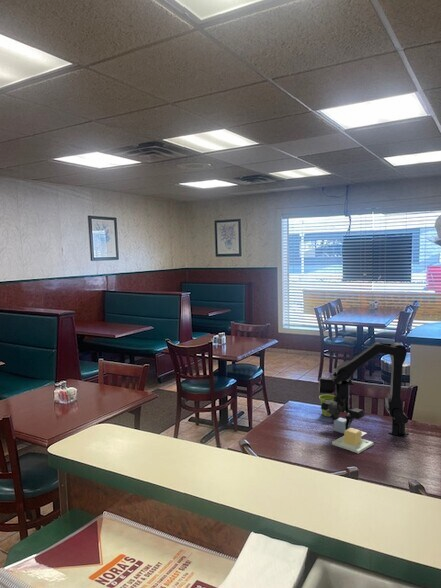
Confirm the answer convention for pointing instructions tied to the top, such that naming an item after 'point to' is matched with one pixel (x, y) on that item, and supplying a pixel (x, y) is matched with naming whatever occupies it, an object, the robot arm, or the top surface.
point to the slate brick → (340, 425)
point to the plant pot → (323, 399)
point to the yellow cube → (352, 436)
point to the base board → (356, 448)
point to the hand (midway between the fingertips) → (341, 428)
